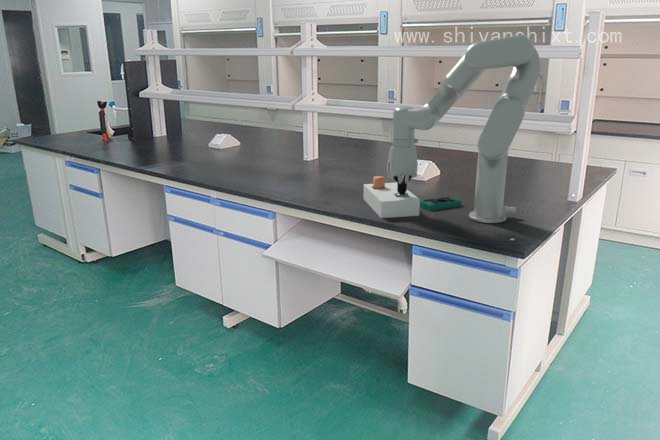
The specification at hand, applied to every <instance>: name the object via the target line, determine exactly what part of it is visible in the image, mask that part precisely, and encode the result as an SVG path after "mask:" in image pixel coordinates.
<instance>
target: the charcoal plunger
mask: <svg viewBox="0 0 660 440" xmlns="http://www.w3.org/2000/svg"><path fill="white" fill-rule="evenodd" d="M396 197H408V193H406V192H405V194H402V195H401V194H399V193H396Z"/></svg>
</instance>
